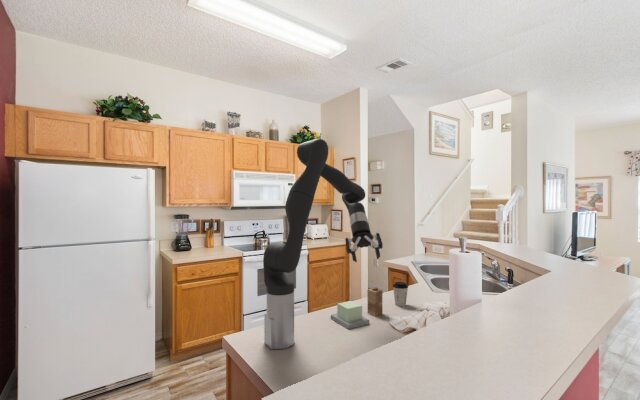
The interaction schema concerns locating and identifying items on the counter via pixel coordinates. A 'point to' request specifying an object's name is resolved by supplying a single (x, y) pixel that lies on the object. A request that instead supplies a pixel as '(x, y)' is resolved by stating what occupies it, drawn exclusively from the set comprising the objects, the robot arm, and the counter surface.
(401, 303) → the coffee cup
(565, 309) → the counter surface
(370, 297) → the walnut pillar block
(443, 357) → the counter surface
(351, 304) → the foundation
